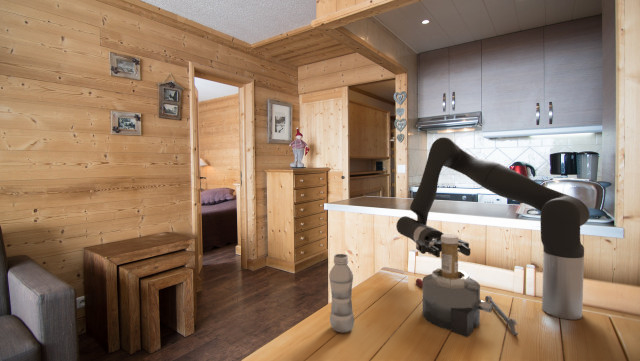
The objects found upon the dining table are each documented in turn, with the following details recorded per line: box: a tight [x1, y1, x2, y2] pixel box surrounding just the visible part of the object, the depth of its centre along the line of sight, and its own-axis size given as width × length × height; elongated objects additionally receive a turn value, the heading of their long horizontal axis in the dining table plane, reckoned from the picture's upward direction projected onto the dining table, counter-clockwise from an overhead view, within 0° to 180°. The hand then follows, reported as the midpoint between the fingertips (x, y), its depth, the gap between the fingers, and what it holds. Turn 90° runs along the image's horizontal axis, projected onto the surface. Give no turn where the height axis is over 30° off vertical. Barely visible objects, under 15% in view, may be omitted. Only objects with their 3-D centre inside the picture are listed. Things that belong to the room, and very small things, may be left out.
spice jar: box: [440, 233, 459, 278], centre depth 90 cm, size 5×5×13 cm
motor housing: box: [422, 267, 493, 338], centre depth 89 cm, size 15×18×12 cm
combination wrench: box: [484, 295, 519, 336], centre depth 89 cm, size 4×1×20 cm
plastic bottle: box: [328, 253, 355, 333], centre depth 85 cm, size 6×7×20 cm
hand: (453, 253), depth 88 cm, fingers open, 8 cm apart
